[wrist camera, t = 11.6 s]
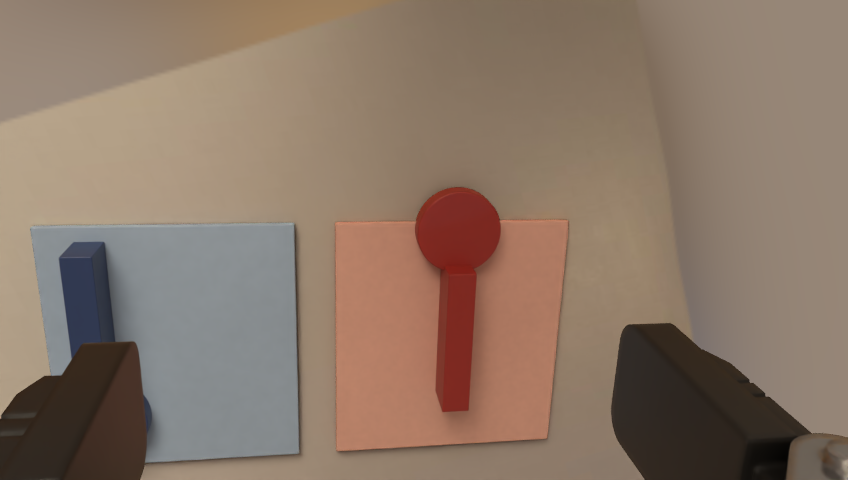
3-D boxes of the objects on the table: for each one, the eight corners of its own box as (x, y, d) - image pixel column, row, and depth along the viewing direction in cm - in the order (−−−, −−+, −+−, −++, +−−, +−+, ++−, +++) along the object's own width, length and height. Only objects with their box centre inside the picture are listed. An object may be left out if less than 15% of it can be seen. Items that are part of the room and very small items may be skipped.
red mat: (335, 221, 36) (335, 224, 36) (566, 219, 38) (569, 221, 38) (336, 447, 40) (336, 451, 40) (545, 435, 42) (547, 439, 42)
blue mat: (32, 225, 34) (29, 228, 33) (294, 222, 36) (294, 224, 35) (65, 463, 38) (63, 468, 37) (299, 449, 40) (299, 453, 39)
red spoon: (416, 186, 36) (422, 198, 34) (498, 186, 36) (510, 197, 34) (409, 392, 39) (415, 413, 37) (485, 388, 40) (495, 409, 38)
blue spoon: (155, 447, 38) (146, 473, 36) (69, 452, 37) (56, 479, 35) (135, 240, 34) (124, 256, 32) (41, 242, 34) (23, 258, 32)
